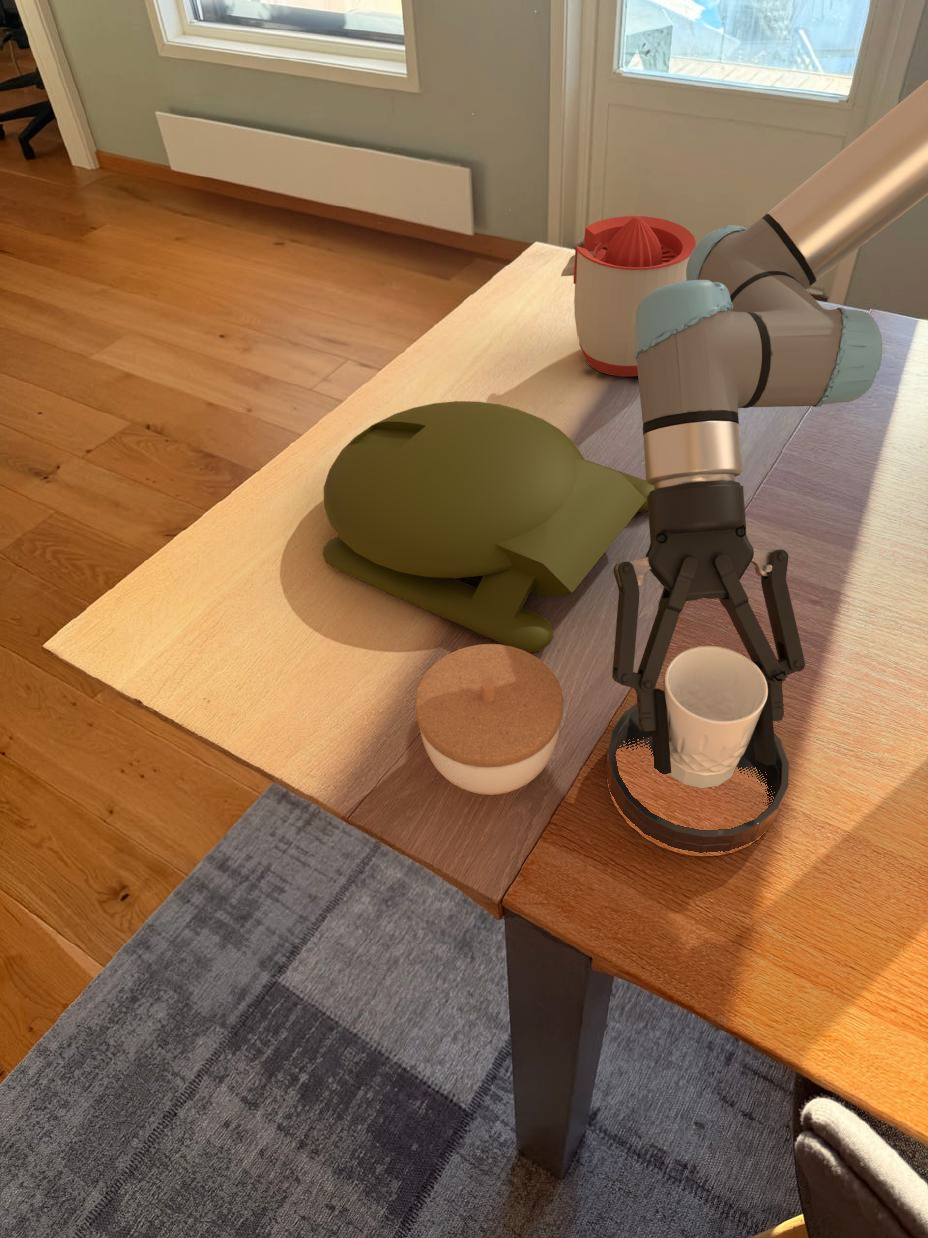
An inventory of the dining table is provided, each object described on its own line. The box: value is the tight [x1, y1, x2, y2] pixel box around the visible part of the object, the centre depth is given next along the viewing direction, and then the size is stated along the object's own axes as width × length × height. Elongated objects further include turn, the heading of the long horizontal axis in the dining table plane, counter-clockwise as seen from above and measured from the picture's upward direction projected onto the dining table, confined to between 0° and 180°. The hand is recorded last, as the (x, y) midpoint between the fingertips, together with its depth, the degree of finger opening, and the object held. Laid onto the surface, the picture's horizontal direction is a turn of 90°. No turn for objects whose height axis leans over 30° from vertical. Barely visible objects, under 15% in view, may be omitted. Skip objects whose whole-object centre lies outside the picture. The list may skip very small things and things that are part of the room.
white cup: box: [662, 645, 768, 789], centre depth 75 cm, size 8×8×10 cm
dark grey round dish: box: [605, 702, 790, 853], centre depth 80 cm, size 15×15×4 cm
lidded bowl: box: [414, 643, 564, 796], centre depth 79 cm, size 13×13×11 cm
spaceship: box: [322, 400, 654, 654], centre depth 103 cm, size 35×31×10 cm
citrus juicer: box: [560, 215, 697, 377], centre depth 123 cm, size 16×17×20 cm
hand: (714, 765), depth 73 cm, fingers closed on white cup, 8 cm apart
